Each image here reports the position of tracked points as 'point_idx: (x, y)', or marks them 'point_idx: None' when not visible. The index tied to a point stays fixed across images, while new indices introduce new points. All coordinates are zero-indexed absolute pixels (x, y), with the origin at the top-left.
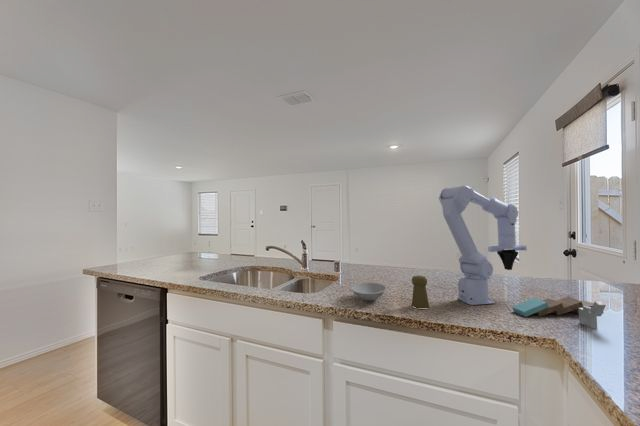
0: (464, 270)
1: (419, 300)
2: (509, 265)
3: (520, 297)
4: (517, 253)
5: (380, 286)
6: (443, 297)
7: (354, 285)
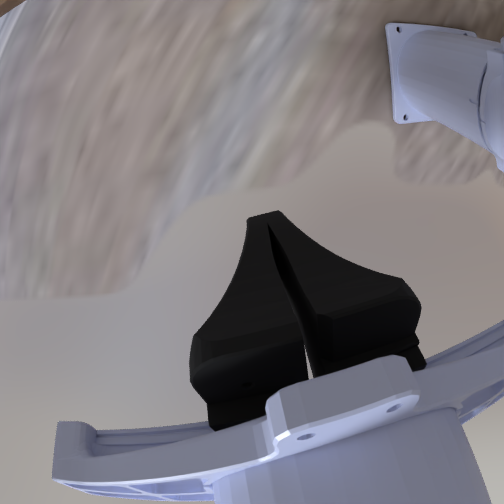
0: None
1: None
2: (286, 227)
3: (193, 128)
4: (210, 338)
5: None
6: None
7: None
